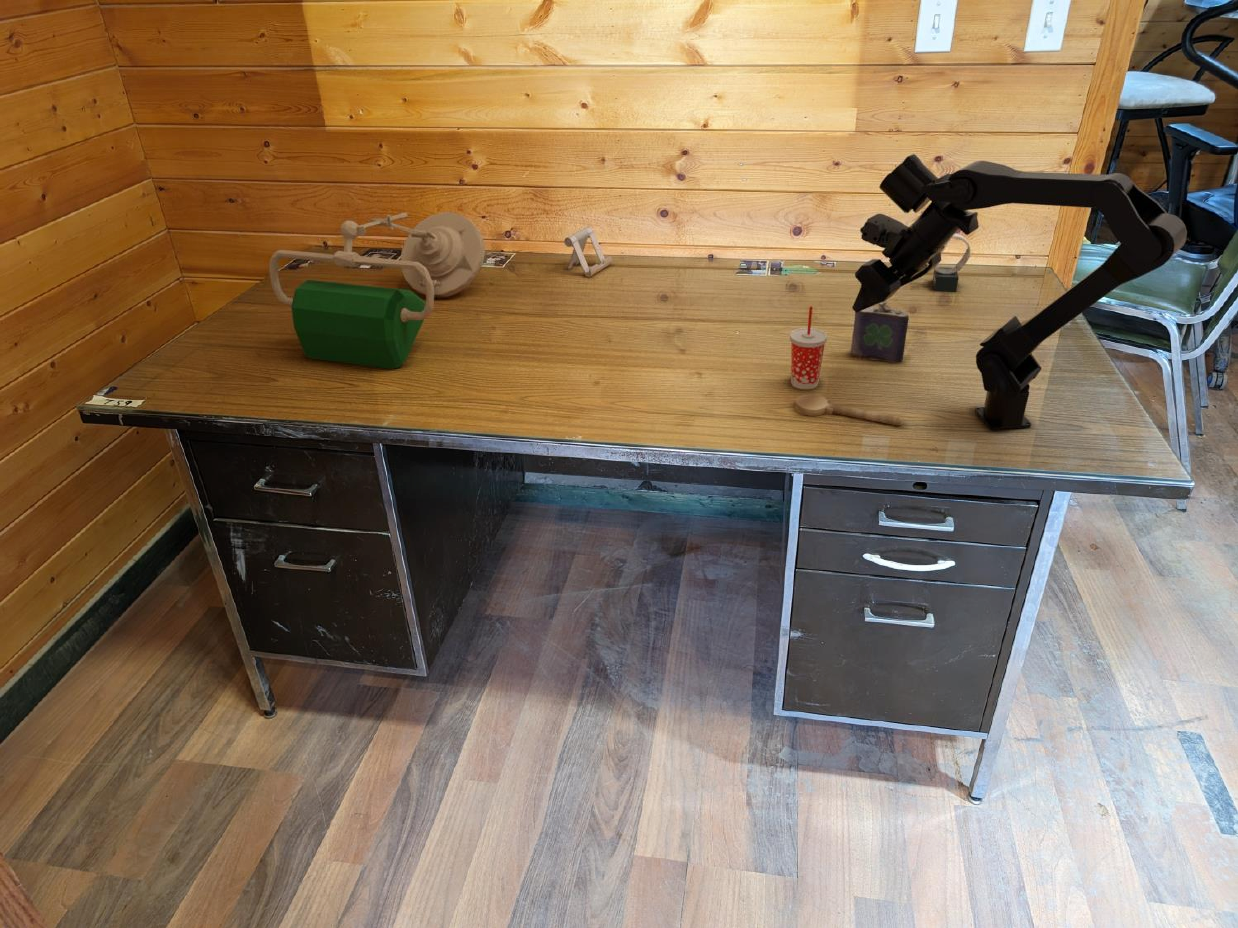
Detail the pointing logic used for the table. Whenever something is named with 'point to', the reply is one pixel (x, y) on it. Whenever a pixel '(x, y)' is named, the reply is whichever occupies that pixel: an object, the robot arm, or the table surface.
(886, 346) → the flask
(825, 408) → the spoon
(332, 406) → the table surface
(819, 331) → the beverage cup
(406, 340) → the banker's lamp
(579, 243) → the tablet stand
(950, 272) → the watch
